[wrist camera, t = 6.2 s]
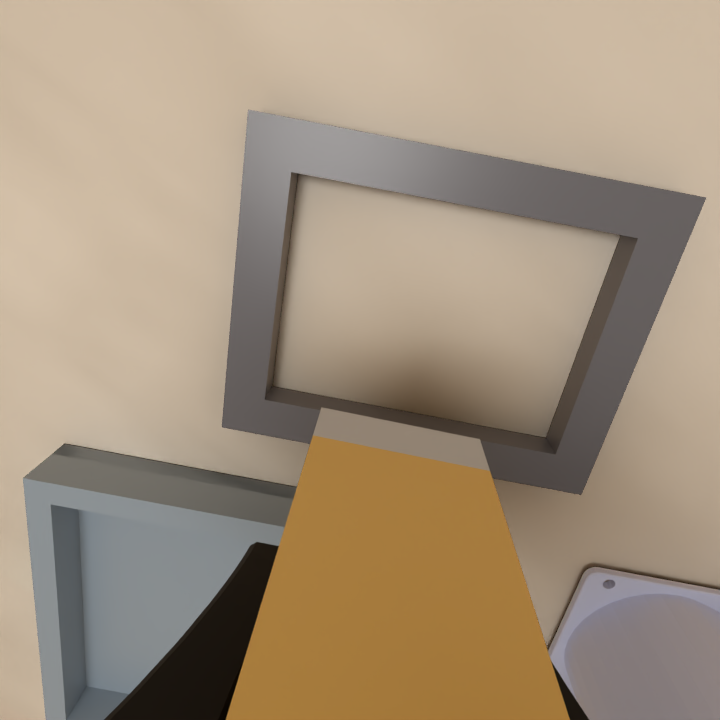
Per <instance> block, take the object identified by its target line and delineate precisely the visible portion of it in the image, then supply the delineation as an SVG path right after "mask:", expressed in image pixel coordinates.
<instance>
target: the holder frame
mask: <svg viewBox="0 0 720 720" xmlns="http://www.w3.org/2000/svg"><path fill="white" fill-rule="evenodd" d="M298 173H299V174H304V175H309V176H315V177H320V178H325V179H330V180H335V181H341V182H346V183H351V184H356V185H362V186H367V187H372V188H377V189H382V190H388V191H393V192H398V193H403V194H409V195H414V196H419V197H424V198H429V199H435V200H440V201H445V202H450V203H456V204H461V205H466V206H471V207H477V208H482V209H487V210H492V211H497V212H503V213H508V214H513V215H518V216H524V217H529V218H534V219H539V220H544V221H550V222H555V223H560V224H565V225H571V226H576V227H581V228H586V229H591V230H597V231H602V232H607V233H612V234H618V235H621V236H620V239H619V242H618V245H617V247H616V250H615V253H614V255H613V258H612V261H611V264H610V266H609V269H608V272H607V274H606V277H605V280H604V283H603V285H602V288H601V291H600V293H599V296H598V299H597V302H596V304H595V307H594V310H593V312H592V315H591V318H590V321H589V323H588V326H587V329H586V331H585V334H584V337H583V340H582V342H581V345H580V348H579V350H578V353H577V356H576V359H575V361H574V364H573V367H572V369H571V372H570V375H569V378H568V380H567V383H566V386H565V388H564V391H563V394H562V397H561V399H560V402H559V405H558V407H557V410H556V413H555V416H554V418H553V421H552V424H551V426H550V429H549V432H548V435H547V437H546V438H543V437H537V436H532V435H527V434H521V433H516V432H511V431H505V430H500V429H495V428H490V427H484V426H479V425H474V424H468V423H463V422H458V421H452V420H447V419H442V418H437V417H431V416H426V415H421V414H415V413H410V412H405V411H399V410H394V409H389V408H384V407H378V406H373V405H368V404H362V403H357V402H352V401H346V400H341V399H336V398H331V397H325V396H320V395H315V394H309V393H304V392H299V391H294V390H288V389H283V388H278V387H272V383H273V375H274V366H275V358H276V350H277V342H278V334H279V325H280V317H281V309H282V301H283V293H284V284H285V276H286V268H287V260H288V252H289V243H290V235H291V227H292V219H293V211H294V202H295V194H296V186H297V178H298ZM705 199H706V198H705V197H700V196H695V195H690V194H685V193H679V192H674V191H669V190H664V189H659V188H653V187H648V186H643V185H638V184H633V183H627V182H622V181H617V180H612V179H606V178H601V177H596V176H591V175H586V174H580V173H575V172H570V171H565V170H560V169H554V168H549V167H544V166H539V165H534V164H528V163H523V162H518V161H513V160H508V159H502V158H497V157H492V156H487V155H481V154H476V153H471V152H466V151H461V150H455V149H450V148H445V147H440V146H435V145H429V144H424V143H419V142H414V141H409V140H403V139H398V138H393V137H388V136H383V135H377V134H372V133H367V132H362V131H357V130H351V129H346V128H341V127H336V126H330V125H325V124H320V123H315V122H310V121H304V120H299V119H294V118H289V117H284V116H278V115H273V114H268V113H263V112H258V111H252V110H248V117H247V129H246V141H245V153H244V165H243V177H242V189H241V202H240V214H239V226H238V238H237V250H236V262H235V274H234V286H233V298H232V311H231V323H230V335H229V347H228V359H227V371H226V383H225V395H224V407H223V419H222V427H223V428H229V429H234V430H239V431H245V432H250V433H255V434H260V435H266V436H271V437H276V438H282V439H287V440H292V441H298V442H303V443H308V444H310V443H311V440H312V437H313V433H314V430H315V427H316V424H317V420H318V417H319V414H320V411H321V407H322V408H327V409H332V410H337V411H342V412H347V413H352V414H357V415H362V416H367V417H372V418H377V419H382V420H387V421H392V422H397V423H402V424H407V425H412V426H416V427H421V428H426V429H431V430H436V431H441V432H446V433H451V434H456V435H461V436H466V437H471V438H476V439H480V441H481V444H482V447H483V451H484V454H485V457H486V460H487V463H488V466H489V469H490V472H491V476H492V478H494V479H500V480H505V481H510V482H516V483H521V484H526V485H532V486H537V487H542V488H548V489H553V490H558V491H563V492H569V493H574V494H579V495H581V494H582V492H583V490H584V487H585V485H586V483H587V480H588V478H589V475H590V473H591V471H592V468H593V466H594V464H595V461H596V459H597V456H598V454H599V452H600V449H601V447H602V444H603V442H604V440H605V437H606V435H607V433H608V430H609V428H610V425H611V423H612V421H613V418H614V416H615V414H616V411H617V409H618V406H619V404H620V402H621V399H622V397H623V394H624V392H625V390H626V387H627V385H628V383H629V380H630V378H631V375H632V373H633V371H634V368H635V366H636V364H637V361H638V359H639V356H640V354H641V352H642V349H643V347H644V345H645V342H646V340H647V337H648V335H649V333H650V330H651V328H652V325H653V323H654V321H655V318H656V316H657V314H658V311H659V309H660V306H661V304H662V302H663V299H664V297H665V295H666V292H667V290H668V287H669V285H670V283H671V280H672V278H673V276H674V273H675V271H676V268H677V266H678V264H679V261H680V259H681V256H682V254H683V252H684V249H685V247H686V245H687V242H688V240H689V237H690V235H691V233H692V230H693V228H694V226H695V223H696V221H697V218H698V216H699V214H700V211H701V209H702V207H703V204H704V202H705Z"/></svg>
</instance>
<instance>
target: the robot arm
mask: <svg viewBox="0 0 720 720" xmlns="http://www.w3.org/2000/svg"><path fill="white" fill-rule="evenodd" d="M278 548H279V546H276V545H271V544H266V543H261V542H256V543H254V544H252V545H250V547H249V548H248V550H247V552H246V553H245V555H244V557H243V558H242V560H241V561H240V563H239V564H238V566H237V567H236V568H235V570H234V571H233V573H232V574H231V576H230V577H229V578H228V580H227V581H226V582H225V584H224V585H223V586H222V588H221V589H220V590H219V592H218V593H217V594H216V595H215V597H214V598H213V599H212V601H211V602H210V603H209V604H208V606H207V607H206V608H205V609H204V610H203V612H202V613H201V614H200V615H199V616H198V618H197V619H196V620H195V621H194V623H193V624H192V625H191V626H190V627H189V629H188V630H187V631H186V632H185V633H184V635H183V636H182V637H181V638H180V639H179V640H178V642H177V643H176V644H175V645H174V646H173V647H172V648H171V649H170V651H169V652H168V653H167V654H166V655H165V656H164V657H163V658H162V659H161V660H160V661H159V663H158V664H157V665H156V666H155V667H154V668H153V669H152V670H151V671H150V672H149V673H148V674H147V676H146V677H145V678H144V679H143V680H142V681H141V682H140V683H139V684H138V685H137V686H136V688H135V689H134V690H133V691H132V692H131V693H130V694H129V695H128V696H127V697H126V698H125V699H124V700H123V701H122V702H121V703H120V704H119V705H118V706H117V707H116V708H115V709H114V710H113V711H112V712H111V713H110V714H109V715H108V716H107V717H106V718H105V719H104V720H226V717H227V714H228V711H229V707H230V704H231V701H232V698H233V694H234V691H235V688H236V685H237V681H238V678H239V675H240V672H241V668H242V665H243V662H244V659H245V655H246V652H247V649H248V645H249V642H250V639H251V636H252V632H253V629H254V626H255V623H256V619H257V616H258V613H259V610H260V606H261V603H262V600H263V597H264V593H265V590H266V587H267V583H268V580H269V577H270V574H271V570H272V567H273V564H274V561H275V557H276V554H277V551H278ZM606 580H609V581H607V582H604V581H606ZM548 653H549V656H550V659H551V662H552V666H553V669H554V672H555V675H556V678H557V681H558V684H559V687H560V690H561V694H562V697H563V700H564V703H565V706H566V709H567V712H568V715H569V718H570V720H720V590H718V589H712V588H707V587H702V586H696V585H691V584H686V583H680V582H675V581H670V580H664V579H659V578H654V577H648V576H643V575H638V574H632V573H627V572H622V571H616V570H611V569H606V568H600V567H592V568H589V569H587V570H586V571H585V572H584V573H583V575H582V578H581V580H580V582H579V584H578V586H577V589H576V591H575V593H574V595H573V597H572V600H571V602H570V604H569V606H568V608H567V611H566V613H565V615H564V617H563V619H562V622H561V624H560V626H559V628H558V630H557V632H556V635H555V637H554V639H553V641H552V643H551V646H550V648H549V650H548Z"/></svg>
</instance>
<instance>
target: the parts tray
mask: <svg viewBox="0 0 720 720" xmlns="http://www.w3.org/2000/svg"><path fill="white" fill-rule="evenodd" d="M23 483H24V494H25V504H26V515H27V525H28V536H29V547H30V557H31V568H32V578H33V589H34V599H35V610H36V621H37V631H38V642H39V652H40V663H41V673H42V684H43V695H44V705H45V716H46V720H104V719H105V718H106V717H107V716H108V715H109V714H110V713H111V712H112V711H113V710H114V709H115V708H116V707H117V706H118V705H119V704H120V703H121V702H122V701H123V700H124V699H125V698H126V697H127V696H128V695H129V694H130V693H131V692H132V691H133V690H134V689H135V688H136V686H137V685H138V684H139V683H140V682H141V681H142V680H143V679H144V678H145V677H146V676H147V674H148V673H149V672H150V671H151V670H152V669H153V668H154V667H155V666H156V665H157V664H158V663H159V661H160V660H161V659H162V658H163V657H164V656H165V655H166V654H167V653H168V652H169V651H170V649H171V648H172V647H173V646H174V645H175V644H176V643H177V642H178V640H179V639H180V638H181V637H182V636H183V635H184V633H185V632H186V631H187V630H188V629H189V627H190V626H191V625H192V624H193V623H194V621H195V620H196V619H197V618H198V616H199V615H200V614H201V613H202V612H203V610H204V609H205V608H206V607H207V606H208V604H209V603H210V602H211V601H212V599H213V598H214V597H215V595H216V594H217V593H218V592H219V590H220V589H221V588H222V586H223V585H224V584H225V582H226V581H227V580H228V578H229V577H230V576H231V574H232V573H233V571H234V570H235V568H236V567H237V566H238V564H239V563H240V561H241V560H242V558H243V557H244V555H245V553H246V552H247V550H248V548H249V547H250V545H252V544H254V543H256V542H261V543H266V544H271V545H276V546H279V544H280V541H281V538H282V535H283V531H284V528H285V525H286V521H287V518H288V515H289V512H290V508H291V505H292V502H293V499H294V495H295V492H296V489H297V487H292V486H287V485H281V484H276V483H271V482H265V481H260V480H255V479H249V478H244V477H239V476H233V475H228V474H223V473H217V472H212V471H207V470H201V469H196V468H191V467H185V466H180V465H175V464H169V463H164V462H159V461H153V460H148V459H143V458H137V457H132V456H127V455H121V454H116V453H111V452H105V451H100V450H95V449H89V448H84V447H79V446H73V445H68V444H64V445H62V446H61V447H60V448H59V449H58V450H56V451H55V452H54V453H53V454H52V455H50V456H49V457H48V458H47V459H46V460H44V461H43V462H42V463H41V464H39V465H38V466H37V467H36V468H35V469H33V470H32V471H31V472H30V473H29V474H27V475H26V476H25V477H24V478H23Z"/></svg>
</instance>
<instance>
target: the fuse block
mask: <svg viewBox="0 0 720 720" xmlns="http://www.w3.org/2000/svg"><path fill="white" fill-rule="evenodd" d="M226 720H570V718H569V715H568V712H567V709H566V706H565V703H564V700H563V697H562V694H561V690H560V687H559V684H558V681H557V678H556V675H555V672H554V669H553V666H552V662H551V659H550V656H549V653H548V650H547V647H546V644H545V641H544V638H543V634H542V631H541V628H540V625H539V622H538V619H537V616H536V613H535V609H534V606H533V603H532V600H531V597H530V594H529V591H528V588H527V585H526V581H525V578H524V575H523V572H522V569H521V566H520V563H519V560H518V557H517V553H516V550H515V547H514V544H513V541H512V538H511V535H510V532H509V528H508V525H507V522H506V519H505V516H504V513H503V510H502V507H501V504H500V500H499V497H498V494H497V491H496V488H495V485H494V482H493V479H492V476H491V472H490V469H489V466H488V463H487V460H486V457H485V454H484V451H483V447H482V444H481V441H480V439H476V438H471V437H466V436H461V435H456V434H451V433H446V432H441V431H436V430H431V429H426V428H421V427H416V426H412V425H407V424H402V423H397V422H392V421H387V420H382V419H377V418H372V417H367V416H362V415H357V414H352V413H347V412H342V411H337V410H332V409H327V408H322V407H321V411H320V414H319V417H318V420H317V424H316V427H315V430H314V433H313V437H312V440H311V443H310V446H309V450H308V453H307V456H306V459H305V463H304V466H303V469H302V473H301V476H300V479H299V482H298V486H297V489H296V492H295V495H294V499H293V502H292V505H291V508H290V512H289V515H288V518H287V521H286V525H285V528H284V531H283V535H282V538H281V541H280V544H279V548H278V551H277V554H276V557H275V561H274V564H273V567H272V570H271V574H270V577H269V580H268V583H267V587H266V590H265V593H264V597H263V600H262V603H261V606H260V610H259V613H258V616H257V619H256V623H255V626H254V629H253V632H252V636H251V639H250V642H249V645H248V649H247V652H246V655H245V659H244V662H243V665H242V668H241V672H240V675H239V678H238V681H237V685H236V688H235V691H234V694H233V698H232V701H231V704H230V707H229V711H228V714H227V717H226Z"/></svg>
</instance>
